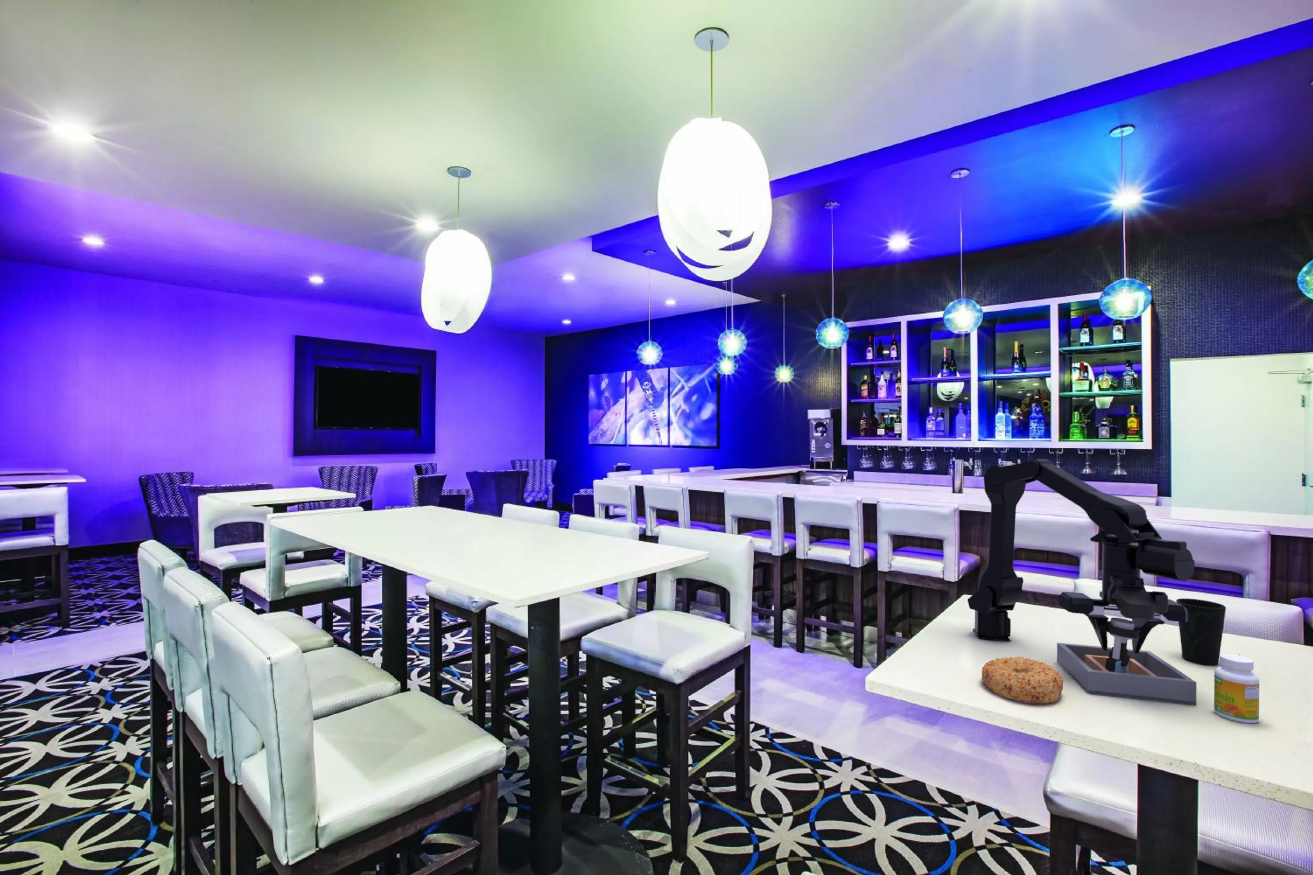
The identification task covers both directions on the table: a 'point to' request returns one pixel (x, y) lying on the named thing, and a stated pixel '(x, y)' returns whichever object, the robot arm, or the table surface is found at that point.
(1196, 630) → the cup
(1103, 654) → the walled box
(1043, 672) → the bagel
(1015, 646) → the table surface
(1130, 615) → the robot arm
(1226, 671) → the supplement bottle
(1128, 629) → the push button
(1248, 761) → the table surface
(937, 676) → the table surface
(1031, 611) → the table surface
